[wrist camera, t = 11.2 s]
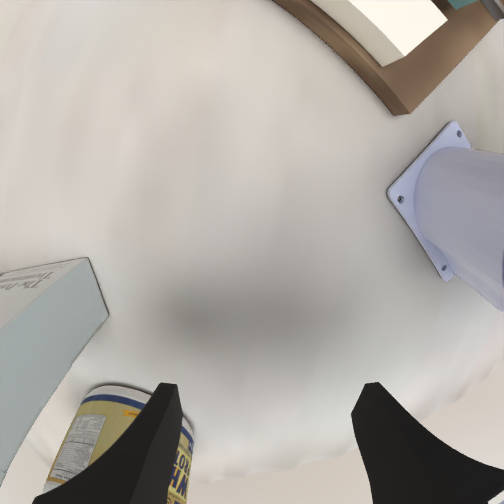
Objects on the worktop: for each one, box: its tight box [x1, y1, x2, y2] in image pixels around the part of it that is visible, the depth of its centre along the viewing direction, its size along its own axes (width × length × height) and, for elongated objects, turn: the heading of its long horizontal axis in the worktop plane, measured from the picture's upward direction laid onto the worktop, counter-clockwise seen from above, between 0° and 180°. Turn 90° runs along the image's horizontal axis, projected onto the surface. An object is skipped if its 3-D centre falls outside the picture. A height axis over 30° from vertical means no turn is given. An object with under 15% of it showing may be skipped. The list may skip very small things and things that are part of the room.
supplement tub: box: [43, 386, 194, 504], centre depth 16 cm, size 12×12×17 cm
